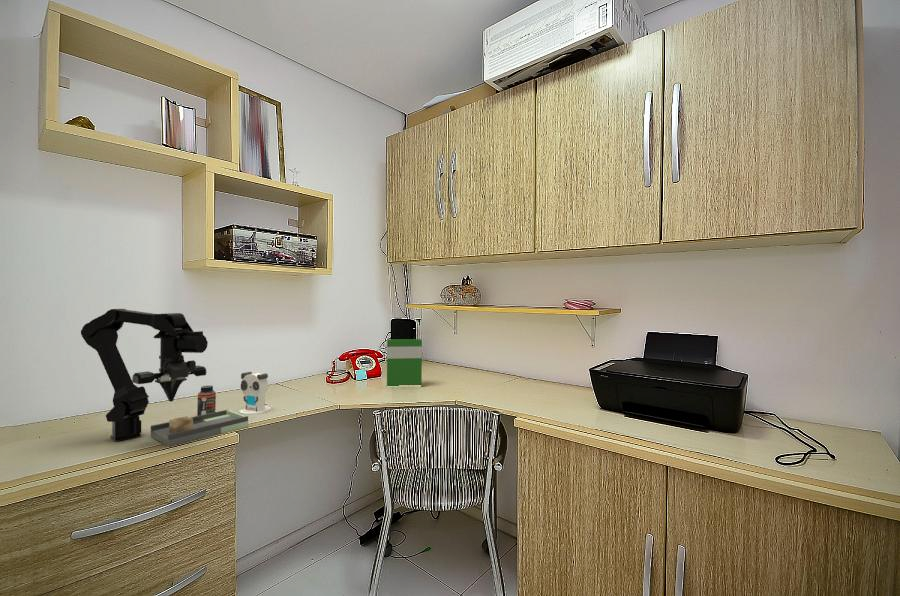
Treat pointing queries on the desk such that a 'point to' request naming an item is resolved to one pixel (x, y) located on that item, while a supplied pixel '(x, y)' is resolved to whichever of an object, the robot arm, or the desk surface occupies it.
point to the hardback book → (404, 362)
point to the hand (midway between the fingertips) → (170, 401)
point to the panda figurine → (254, 392)
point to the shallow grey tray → (200, 427)
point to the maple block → (180, 424)
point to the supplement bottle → (206, 400)
